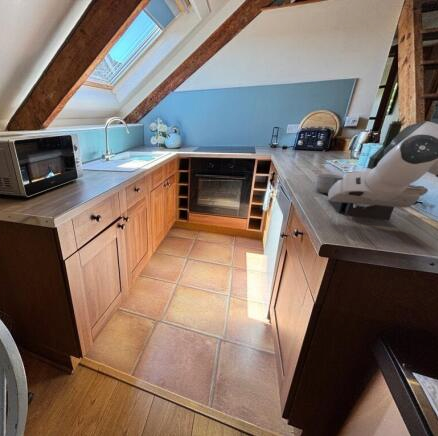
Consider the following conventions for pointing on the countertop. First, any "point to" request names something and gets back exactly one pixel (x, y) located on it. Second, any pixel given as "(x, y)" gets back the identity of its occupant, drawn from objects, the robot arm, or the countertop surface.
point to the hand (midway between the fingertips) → (358, 206)
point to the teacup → (325, 182)
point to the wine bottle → (385, 144)
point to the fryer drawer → (369, 211)
